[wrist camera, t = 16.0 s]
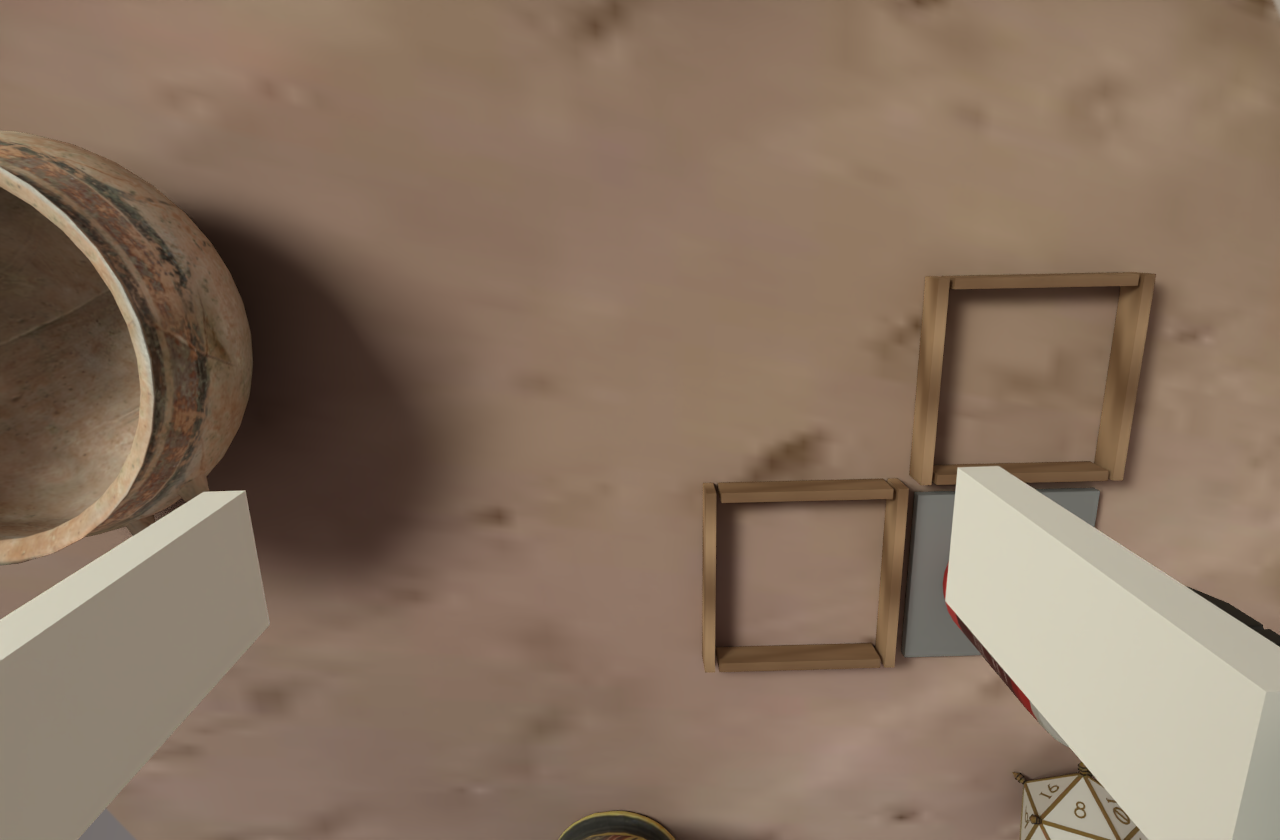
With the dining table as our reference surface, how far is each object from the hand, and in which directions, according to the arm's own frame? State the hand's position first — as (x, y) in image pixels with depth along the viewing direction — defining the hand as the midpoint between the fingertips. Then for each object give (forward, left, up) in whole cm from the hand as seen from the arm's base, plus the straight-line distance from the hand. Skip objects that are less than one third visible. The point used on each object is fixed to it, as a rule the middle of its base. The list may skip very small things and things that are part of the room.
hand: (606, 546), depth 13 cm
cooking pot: (-1, -27, -29) cm, 40 cm away
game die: (+32, +29, -29) cm, 52 cm away
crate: (+15, +11, -29) cm, 34 cm away
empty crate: (+3, +23, -29) cm, 37 cm away
